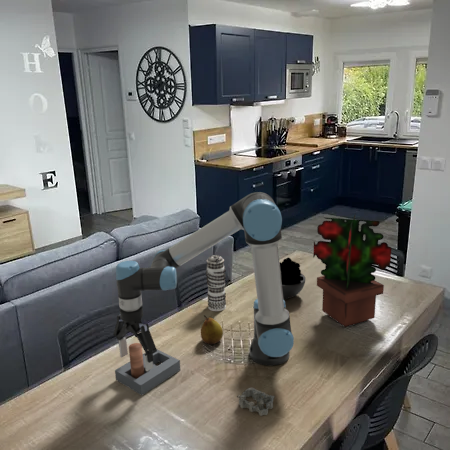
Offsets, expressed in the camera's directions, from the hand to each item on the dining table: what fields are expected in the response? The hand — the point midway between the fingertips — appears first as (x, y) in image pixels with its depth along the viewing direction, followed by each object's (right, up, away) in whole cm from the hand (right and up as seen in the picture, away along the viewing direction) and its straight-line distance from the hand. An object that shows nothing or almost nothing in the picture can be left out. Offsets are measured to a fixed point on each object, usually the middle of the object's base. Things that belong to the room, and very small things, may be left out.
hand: (136, 362), depth 158 cm
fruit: (+26, 0, +27) cm, 37 cm away
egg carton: (+41, -11, -11) cm, 44 cm away
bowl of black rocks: (+60, +13, +64) cm, 88 cm away
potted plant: (+84, +7, +41) cm, 94 cm away
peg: (0, -7, +2) cm, 8 cm away
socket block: (+3, -6, +6) cm, 9 cm away
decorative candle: (+27, +9, +55) cm, 62 cm away
